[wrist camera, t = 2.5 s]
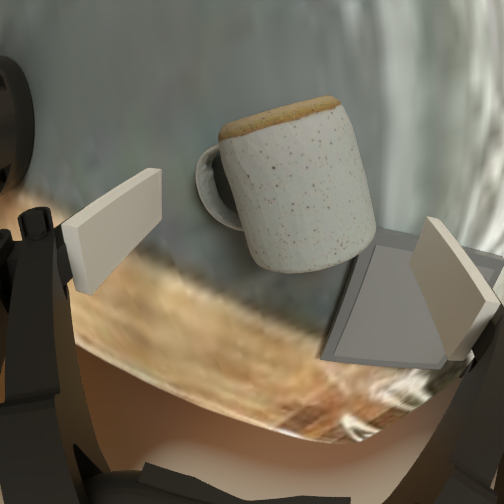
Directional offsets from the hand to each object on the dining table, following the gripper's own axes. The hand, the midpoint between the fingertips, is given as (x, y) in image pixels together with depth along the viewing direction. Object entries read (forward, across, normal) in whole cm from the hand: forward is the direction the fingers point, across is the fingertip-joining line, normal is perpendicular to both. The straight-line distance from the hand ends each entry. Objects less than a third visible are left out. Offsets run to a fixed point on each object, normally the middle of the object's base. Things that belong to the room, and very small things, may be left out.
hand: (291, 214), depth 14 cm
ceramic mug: (+7, -1, 0) cm, 7 cm away
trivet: (+7, +12, -10) cm, 17 cm away
